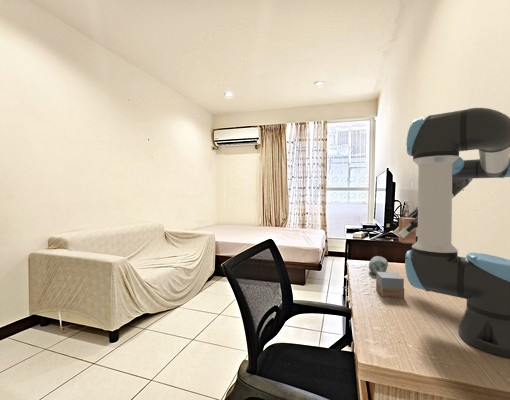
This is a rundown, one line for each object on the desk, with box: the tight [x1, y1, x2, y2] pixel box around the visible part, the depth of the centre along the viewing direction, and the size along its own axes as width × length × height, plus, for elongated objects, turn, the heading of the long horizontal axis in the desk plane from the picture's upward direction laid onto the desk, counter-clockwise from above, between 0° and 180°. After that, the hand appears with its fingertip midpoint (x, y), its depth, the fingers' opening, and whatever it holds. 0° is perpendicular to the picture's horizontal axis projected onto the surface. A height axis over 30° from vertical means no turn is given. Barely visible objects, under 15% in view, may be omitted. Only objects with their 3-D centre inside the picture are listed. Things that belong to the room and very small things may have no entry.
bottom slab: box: [375, 280, 405, 299], centre depth 105 cm, size 8×8×4 cm
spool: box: [368, 255, 389, 276], centre depth 133 cm, size 14×10×10 cm
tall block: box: [398, 217, 417, 245], centre depth 116 cm, size 5×5×11 cm
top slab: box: [375, 271, 405, 290], centre depth 105 cm, size 8×8×4 cm
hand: (398, 234), depth 117 cm, fingers closed on tall block, 5 cm apart
